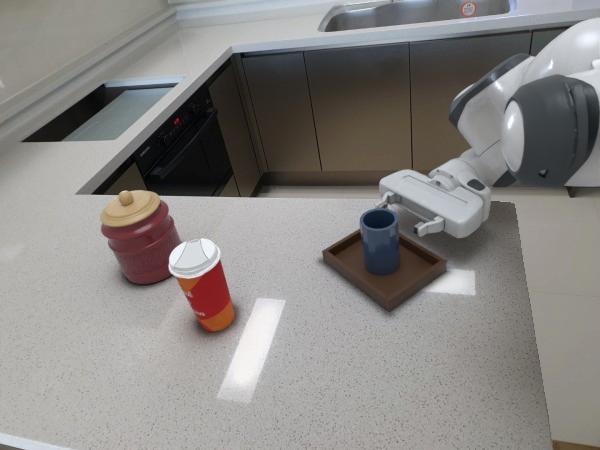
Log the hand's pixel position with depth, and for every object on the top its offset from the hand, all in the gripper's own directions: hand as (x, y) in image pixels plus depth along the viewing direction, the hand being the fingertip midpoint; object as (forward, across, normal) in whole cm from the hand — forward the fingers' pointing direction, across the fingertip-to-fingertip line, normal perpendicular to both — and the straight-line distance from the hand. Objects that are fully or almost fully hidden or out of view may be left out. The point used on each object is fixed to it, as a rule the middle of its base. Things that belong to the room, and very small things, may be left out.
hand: (396, 220), depth 80 cm
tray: (+4, 0, +8) cm, 9 cm away
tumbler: (+4, 0, +7) cm, 8 cm away
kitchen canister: (+36, -33, +8) cm, 49 cm away
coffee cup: (+33, -10, +8) cm, 36 cm away
